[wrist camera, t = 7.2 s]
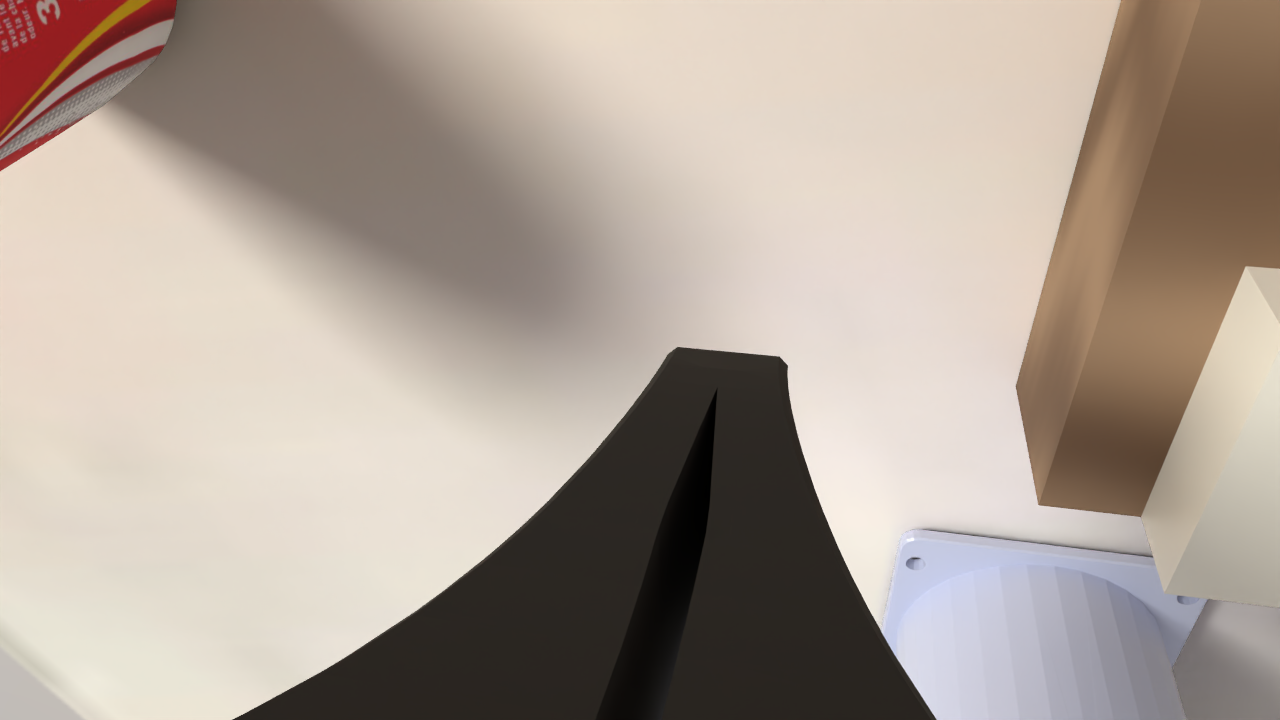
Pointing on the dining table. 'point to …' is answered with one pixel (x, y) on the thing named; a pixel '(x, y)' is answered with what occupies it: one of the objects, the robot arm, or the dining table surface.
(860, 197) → the dining table surface
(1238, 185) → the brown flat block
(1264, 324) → the off-white flat block
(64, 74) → the soda can
